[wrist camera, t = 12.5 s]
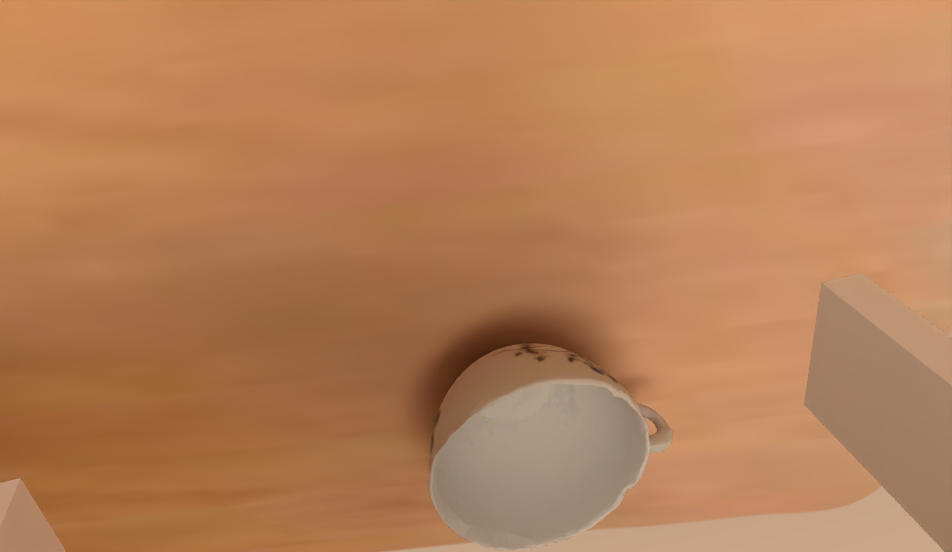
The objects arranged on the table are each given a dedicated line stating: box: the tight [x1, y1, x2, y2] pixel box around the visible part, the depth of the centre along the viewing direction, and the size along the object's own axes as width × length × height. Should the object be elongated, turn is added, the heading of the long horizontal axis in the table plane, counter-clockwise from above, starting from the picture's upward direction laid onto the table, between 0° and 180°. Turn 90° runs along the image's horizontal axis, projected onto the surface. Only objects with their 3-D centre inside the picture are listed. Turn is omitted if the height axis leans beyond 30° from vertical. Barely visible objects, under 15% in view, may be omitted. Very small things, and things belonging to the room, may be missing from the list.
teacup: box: [429, 343, 673, 550], centre depth 44 cm, size 15×12×8 cm
